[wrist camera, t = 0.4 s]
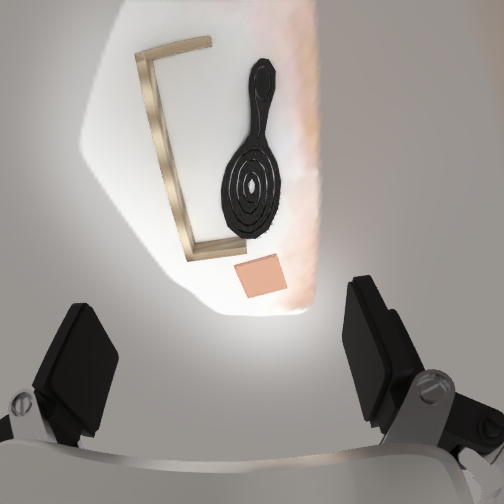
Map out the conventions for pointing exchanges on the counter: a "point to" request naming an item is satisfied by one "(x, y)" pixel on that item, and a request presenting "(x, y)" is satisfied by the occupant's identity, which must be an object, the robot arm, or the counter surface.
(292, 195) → the counter surface
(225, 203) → the hairbrush
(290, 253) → the counter surface
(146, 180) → the counter surface
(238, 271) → the terracotta tile
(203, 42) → the u-shaped wooden frame
